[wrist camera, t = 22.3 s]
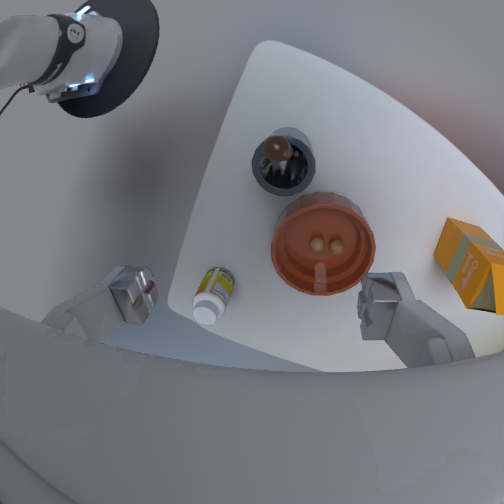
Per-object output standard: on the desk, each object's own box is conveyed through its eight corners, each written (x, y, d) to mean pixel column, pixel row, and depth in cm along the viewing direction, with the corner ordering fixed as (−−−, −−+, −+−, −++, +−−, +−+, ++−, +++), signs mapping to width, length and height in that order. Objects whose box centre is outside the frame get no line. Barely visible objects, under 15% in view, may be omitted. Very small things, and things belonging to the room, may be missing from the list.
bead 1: (312, 253, 40) (315, 257, 42) (326, 245, 40) (328, 249, 42) (305, 240, 41) (308, 244, 43) (319, 232, 40) (321, 236, 43)
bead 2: (325, 251, 42) (328, 243, 40) (333, 241, 43) (337, 233, 41) (337, 260, 41) (340, 253, 39) (345, 250, 42) (349, 242, 40)
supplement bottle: (206, 288, 52) (189, 324, 43) (205, 264, 49) (185, 300, 40) (234, 292, 51) (221, 331, 43) (235, 268, 49) (220, 306, 40)
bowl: (276, 274, 48) (273, 294, 43) (272, 190, 40) (268, 203, 35) (361, 276, 45) (366, 295, 40) (372, 192, 37) (381, 205, 33)
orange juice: (465, 262, 39) (513, 336, 22) (432, 255, 40) (479, 337, 23) (480, 226, 35) (541, 293, 18) (447, 216, 36) (510, 288, 19)
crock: (267, 170, 39) (254, 196, 28) (264, 127, 35) (249, 136, 25) (311, 170, 37) (315, 196, 27) (310, 126, 34) (314, 135, 24)
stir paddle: (279, 160, 37) (253, 161, 16) (279, 147, 36) (252, 134, 16) (298, 160, 36) (297, 162, 16) (298, 148, 36) (297, 134, 15)
